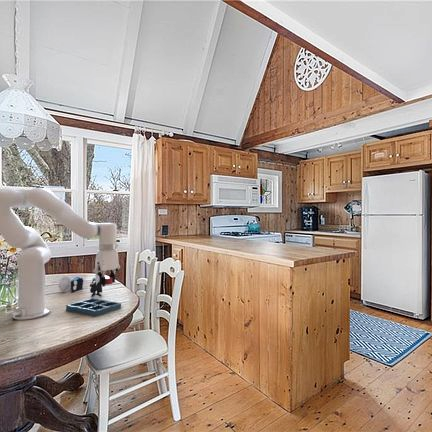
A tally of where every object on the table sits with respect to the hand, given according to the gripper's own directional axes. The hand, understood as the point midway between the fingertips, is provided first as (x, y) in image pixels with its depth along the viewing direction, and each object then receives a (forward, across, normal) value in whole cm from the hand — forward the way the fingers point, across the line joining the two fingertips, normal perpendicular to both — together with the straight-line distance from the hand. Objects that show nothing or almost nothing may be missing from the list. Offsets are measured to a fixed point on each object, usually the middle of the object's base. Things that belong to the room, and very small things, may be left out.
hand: (107, 283), depth 153 cm
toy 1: (+13, -16, -50) cm, 54 cm away
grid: (+13, +3, -5) cm, 14 cm away
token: (0, 0, 0) cm, 0 cm away
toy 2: (+13, -19, -30) cm, 37 cm away
